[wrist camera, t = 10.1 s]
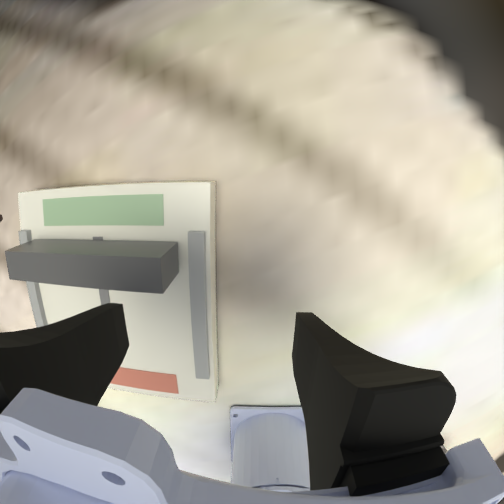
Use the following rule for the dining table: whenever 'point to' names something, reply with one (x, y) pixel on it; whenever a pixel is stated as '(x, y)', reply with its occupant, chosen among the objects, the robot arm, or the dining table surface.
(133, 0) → the dining table surface
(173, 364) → the panel
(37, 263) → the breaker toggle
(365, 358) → the robot arm
